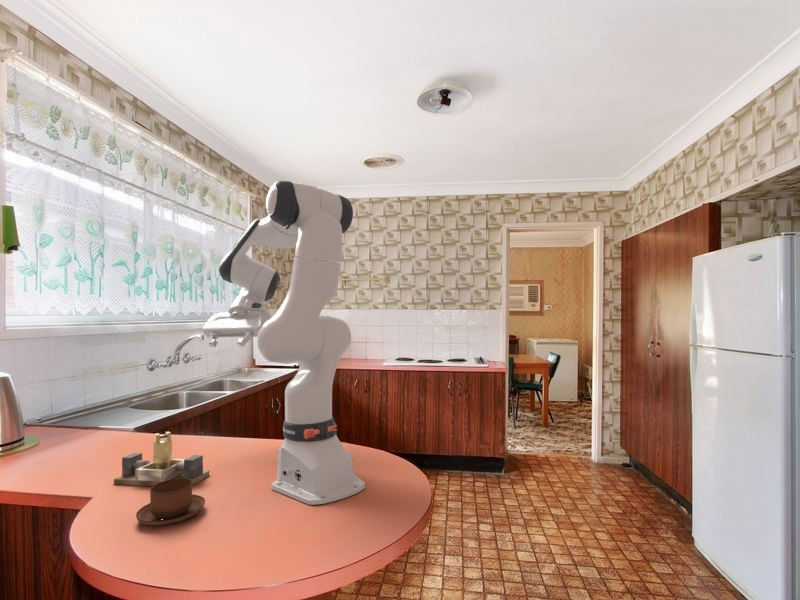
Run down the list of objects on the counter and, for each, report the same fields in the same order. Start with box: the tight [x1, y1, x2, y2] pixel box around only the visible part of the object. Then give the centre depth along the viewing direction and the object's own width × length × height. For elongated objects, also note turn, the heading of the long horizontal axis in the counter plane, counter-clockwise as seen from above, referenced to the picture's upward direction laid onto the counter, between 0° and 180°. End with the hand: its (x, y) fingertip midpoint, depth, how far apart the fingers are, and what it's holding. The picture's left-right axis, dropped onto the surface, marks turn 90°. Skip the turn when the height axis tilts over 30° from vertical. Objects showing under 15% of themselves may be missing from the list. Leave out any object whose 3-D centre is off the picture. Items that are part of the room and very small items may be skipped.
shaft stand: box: [113, 452, 210, 487], centre depth 103 cm, size 20×8×6 cm, turn 79°
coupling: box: [152, 431, 173, 469], centre depth 103 cm, size 4×4×10 cm
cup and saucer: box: [135, 478, 206, 527], centre depth 83 cm, size 12×12×6 cm
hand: (226, 345), depth 124 cm, fingers open, 8 cm apart
